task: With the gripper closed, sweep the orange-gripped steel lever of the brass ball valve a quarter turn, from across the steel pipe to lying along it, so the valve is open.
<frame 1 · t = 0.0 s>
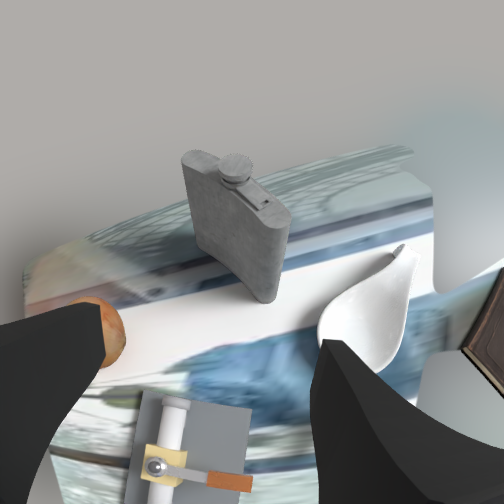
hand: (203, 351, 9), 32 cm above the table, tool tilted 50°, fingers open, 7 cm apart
spoon rest: (371, 311, 45), on the table
onion: (104, 345, 41), on the table
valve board: (171, 462, 33), on the table
hip flask: (236, 266, 49), on the table
valve lever: (197, 476, 26), point 7 cm above the table, hinge at -90.0°
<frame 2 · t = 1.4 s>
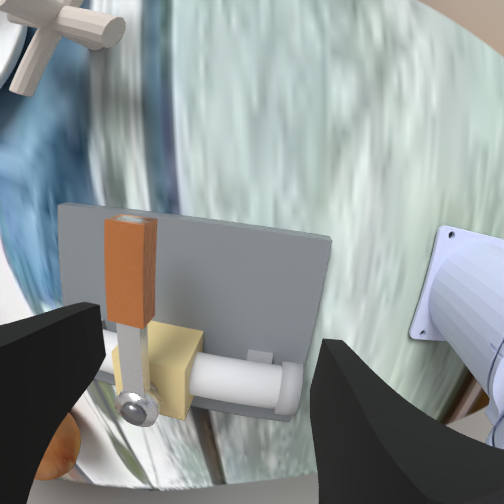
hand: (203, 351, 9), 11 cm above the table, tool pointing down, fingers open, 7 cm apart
pipe connector: (100, 40, 17), on the table
onion: (58, 406, 27), on the table
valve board: (176, 341, 22), on the table
valve lever: (131, 339, 14), point 7 cm above the table, hinge at -90.0°
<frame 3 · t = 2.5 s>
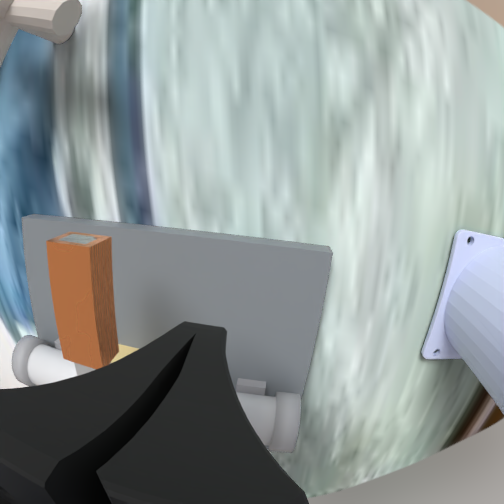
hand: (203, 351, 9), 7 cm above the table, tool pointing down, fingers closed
pipe connector: (65, 32, 14), on the table
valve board: (157, 366, 19), on the table
valve lever: (93, 379, 11), point 7 cm above the table, hinge at -90.0°
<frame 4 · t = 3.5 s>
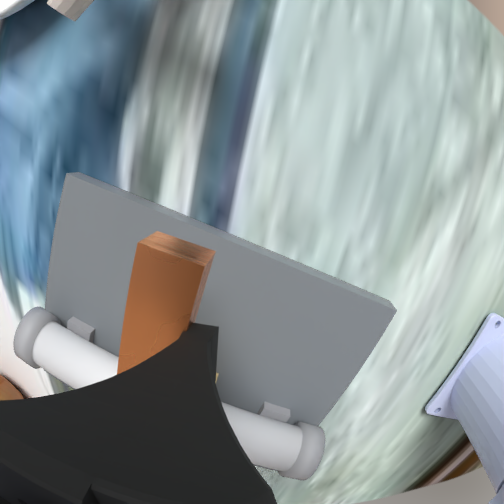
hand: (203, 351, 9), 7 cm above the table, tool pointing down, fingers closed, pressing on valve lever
onion: (14, 392, 21), on the table
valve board: (177, 370, 18), on the table
valve lever: (144, 398, 10), point 7 cm above the table, hinge at -86.0°, touching gripper
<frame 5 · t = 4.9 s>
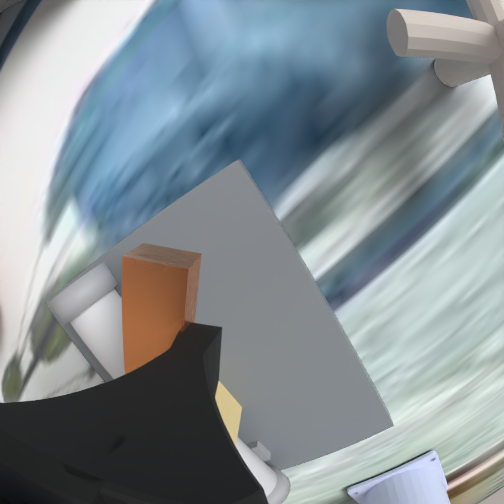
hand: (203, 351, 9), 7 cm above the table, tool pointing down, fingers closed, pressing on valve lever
pipe connector: (446, 71, 12), on the table
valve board: (196, 380, 18), on the table
valve lever: (158, 409, 10), point 7 cm above the table, hinge at -41.0°, touching gripper
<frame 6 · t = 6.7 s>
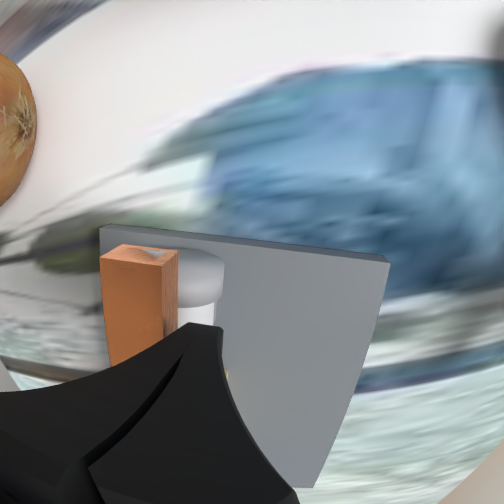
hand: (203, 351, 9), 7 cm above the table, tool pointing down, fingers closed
onion: (16, 136, 15), on the table
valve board: (195, 381, 18), on the table
valve lever: (149, 409, 10), point 7 cm above the table, hinge at 0.5°, touching gripper
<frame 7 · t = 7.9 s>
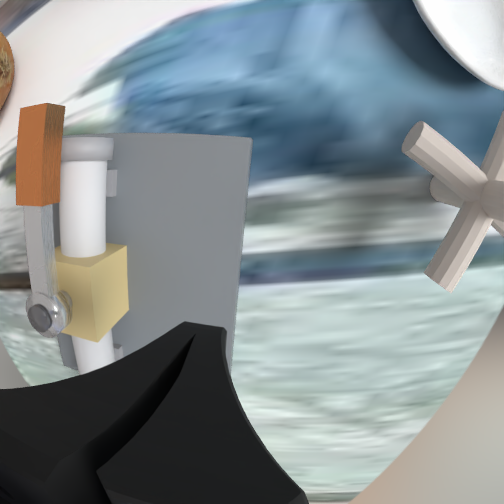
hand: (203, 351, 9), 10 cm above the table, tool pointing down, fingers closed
pipe connector: (440, 187, 17), on the table
onion: (1, 88, 18), on the table
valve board: (109, 268, 20), on the table
valve lever: (36, 227, 12), point 7 cm above the table, hinge at 0.6°
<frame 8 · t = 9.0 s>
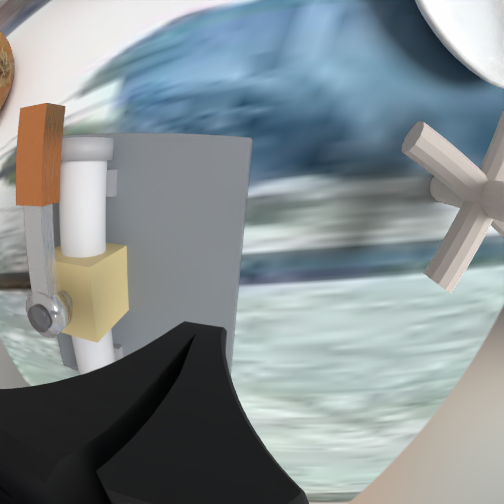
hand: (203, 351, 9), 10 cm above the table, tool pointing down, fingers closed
pipe connector: (440, 187, 17), on the table
onion: (0, 88, 18), on the table
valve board: (109, 268, 20), on the table
valve lever: (36, 227, 12), point 7 cm above the table, hinge at 0.6°
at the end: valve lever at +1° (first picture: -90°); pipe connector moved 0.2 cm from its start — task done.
